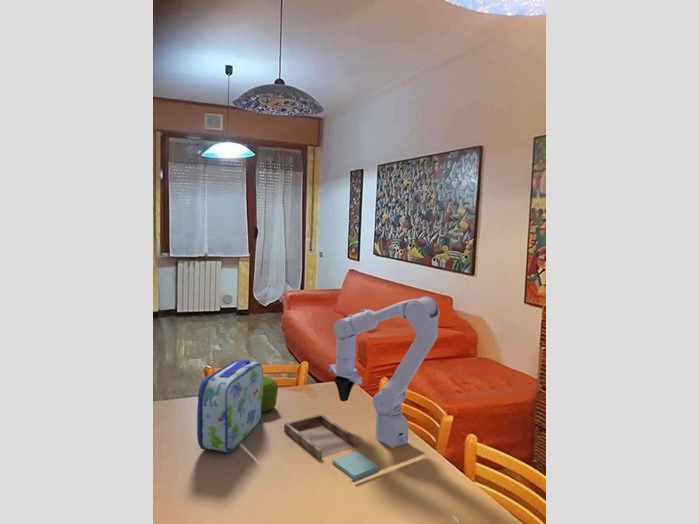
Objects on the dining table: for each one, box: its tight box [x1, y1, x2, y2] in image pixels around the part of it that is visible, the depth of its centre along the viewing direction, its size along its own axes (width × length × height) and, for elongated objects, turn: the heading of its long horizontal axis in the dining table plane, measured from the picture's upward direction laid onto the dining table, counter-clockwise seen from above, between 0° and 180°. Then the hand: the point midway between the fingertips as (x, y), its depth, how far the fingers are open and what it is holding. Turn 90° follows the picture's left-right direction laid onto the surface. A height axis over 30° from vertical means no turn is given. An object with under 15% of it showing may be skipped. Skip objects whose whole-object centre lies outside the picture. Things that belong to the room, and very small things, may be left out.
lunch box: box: [196, 359, 264, 453], centre depth 135 cm, size 26×11×21 cm, turn 168°
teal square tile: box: [331, 451, 380, 483], centre depth 120 cm, size 9×8×2 cm
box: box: [283, 413, 359, 460], centre depth 135 cm, size 19×13×3 cm
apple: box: [261, 376, 279, 413], centre depth 155 cm, size 11×11×11 cm
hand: (344, 400), depth 144 cm, fingers closed
